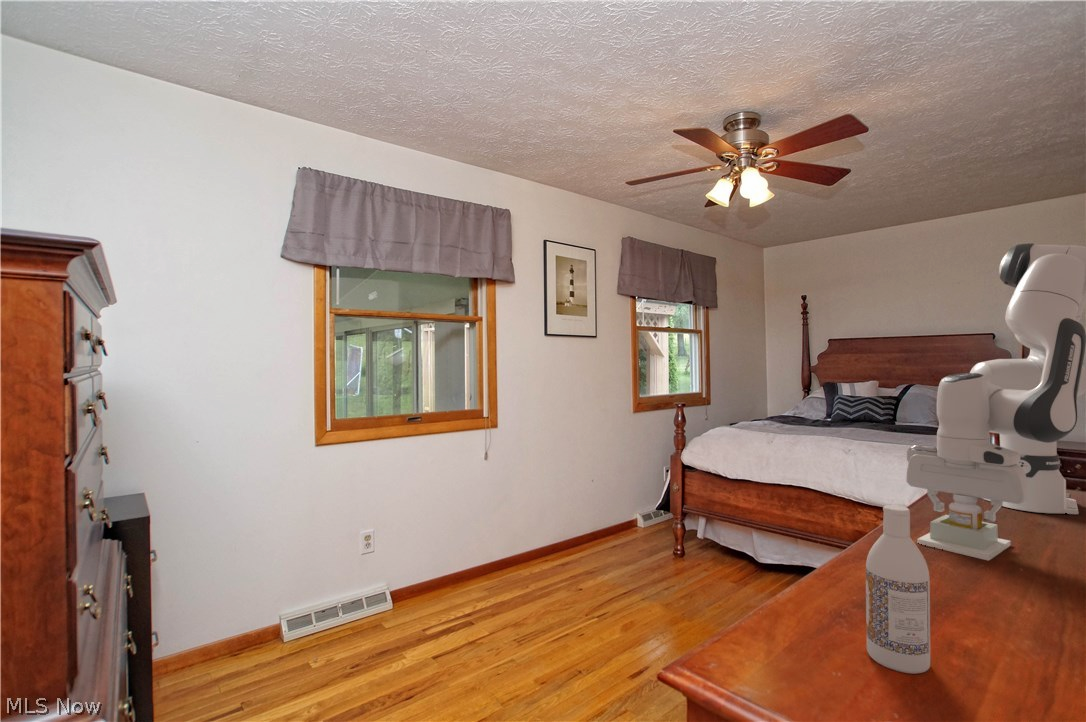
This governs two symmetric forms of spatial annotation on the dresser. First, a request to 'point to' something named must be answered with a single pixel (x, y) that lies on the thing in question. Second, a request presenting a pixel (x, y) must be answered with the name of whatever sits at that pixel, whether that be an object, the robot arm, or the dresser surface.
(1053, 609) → the dresser surface
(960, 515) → the supplement bottle
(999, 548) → the caddy
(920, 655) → the bath foam
